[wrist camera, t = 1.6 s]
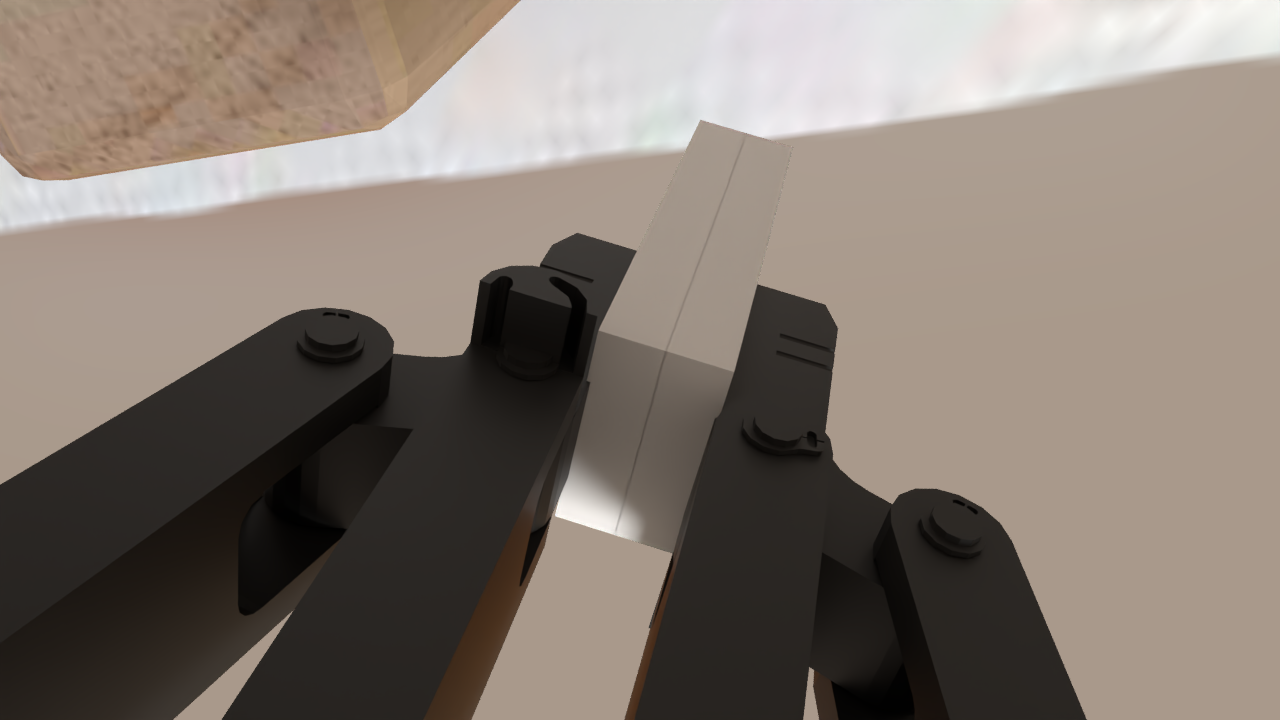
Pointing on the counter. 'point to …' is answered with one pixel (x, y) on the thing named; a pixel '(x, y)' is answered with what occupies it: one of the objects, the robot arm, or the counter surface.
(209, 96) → the wooden block
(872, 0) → the counter surface
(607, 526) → the robot arm
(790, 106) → the counter surface
